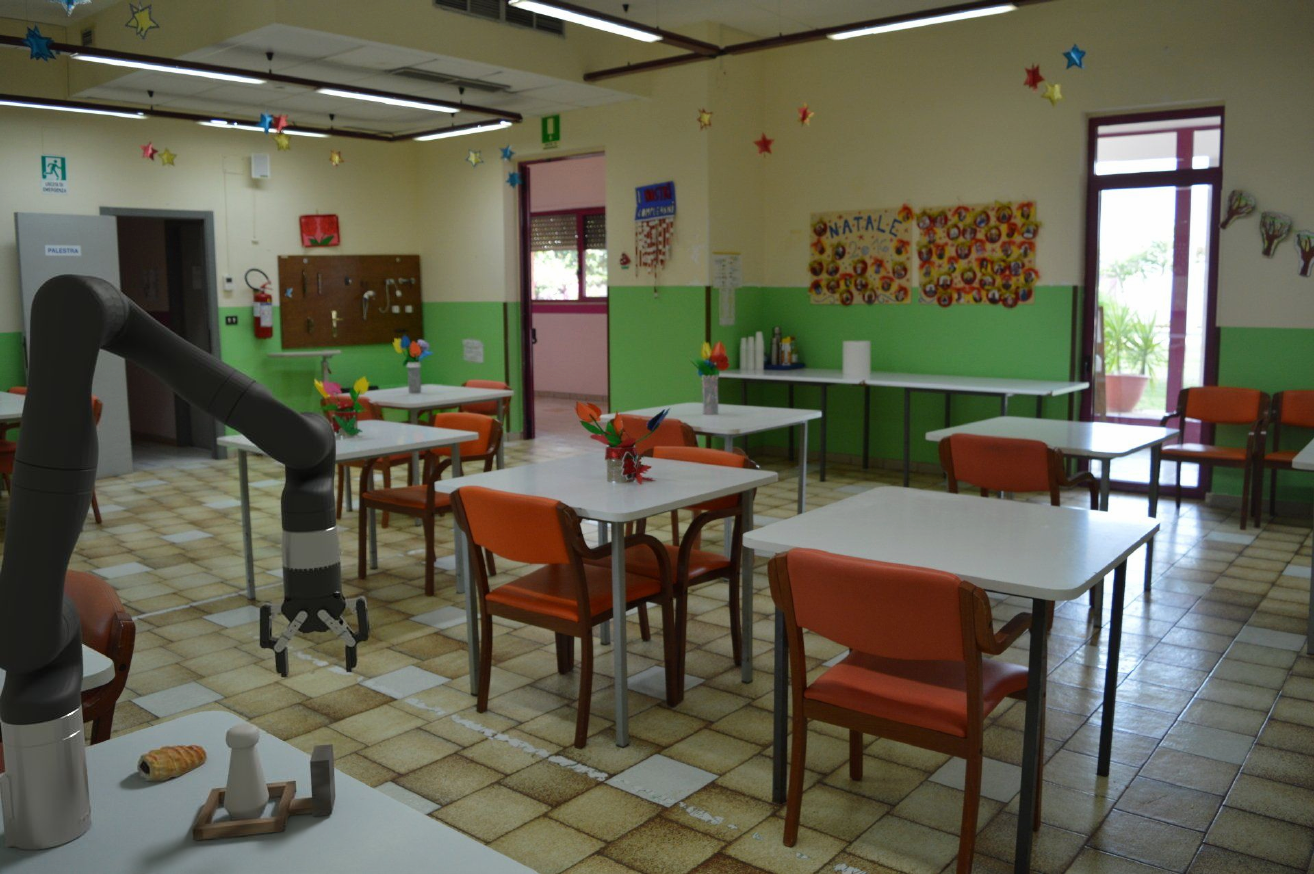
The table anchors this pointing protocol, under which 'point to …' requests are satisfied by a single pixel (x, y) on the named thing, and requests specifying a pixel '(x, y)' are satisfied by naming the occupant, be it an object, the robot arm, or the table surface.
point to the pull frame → (288, 806)
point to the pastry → (170, 762)
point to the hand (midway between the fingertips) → (317, 672)
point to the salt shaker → (245, 775)
